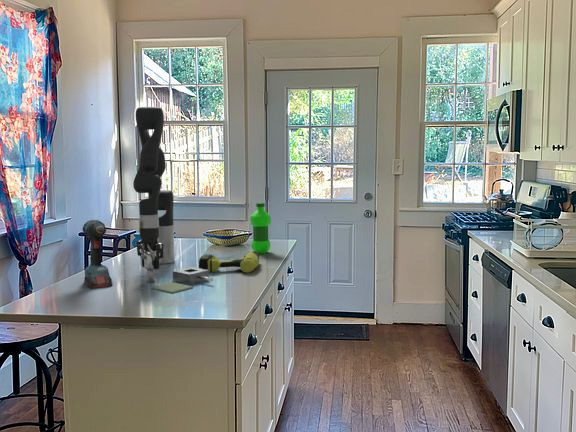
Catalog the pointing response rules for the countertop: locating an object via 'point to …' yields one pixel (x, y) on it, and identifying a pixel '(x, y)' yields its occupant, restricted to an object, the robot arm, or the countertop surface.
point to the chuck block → (191, 275)
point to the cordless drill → (230, 262)
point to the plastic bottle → (260, 229)
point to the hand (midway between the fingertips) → (150, 267)
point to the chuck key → (149, 267)
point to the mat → (172, 287)
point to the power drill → (96, 256)
